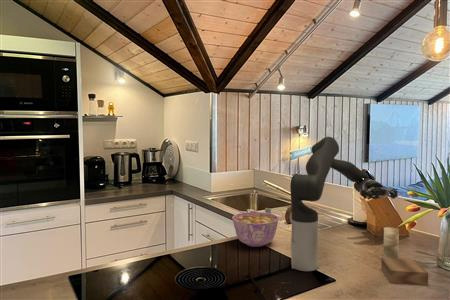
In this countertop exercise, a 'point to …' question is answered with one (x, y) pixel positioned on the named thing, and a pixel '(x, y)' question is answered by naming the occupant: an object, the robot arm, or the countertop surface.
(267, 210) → the flask
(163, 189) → the countertop surface
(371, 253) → the countertop surface
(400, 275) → the walnut base
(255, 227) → the bowl of food
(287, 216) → the tin
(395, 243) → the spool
